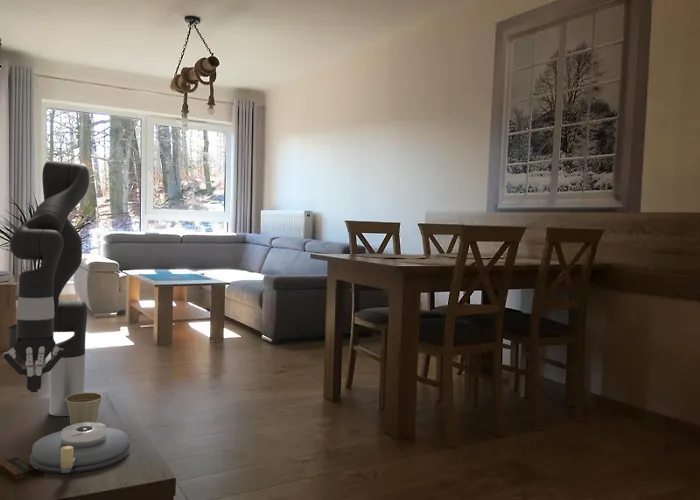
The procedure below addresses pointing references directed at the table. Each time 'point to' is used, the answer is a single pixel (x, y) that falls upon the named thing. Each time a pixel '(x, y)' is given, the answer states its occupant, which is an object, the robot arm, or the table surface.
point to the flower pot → (83, 407)
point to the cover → (83, 435)
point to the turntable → (78, 451)
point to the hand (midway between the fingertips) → (33, 391)
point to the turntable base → (81, 468)
